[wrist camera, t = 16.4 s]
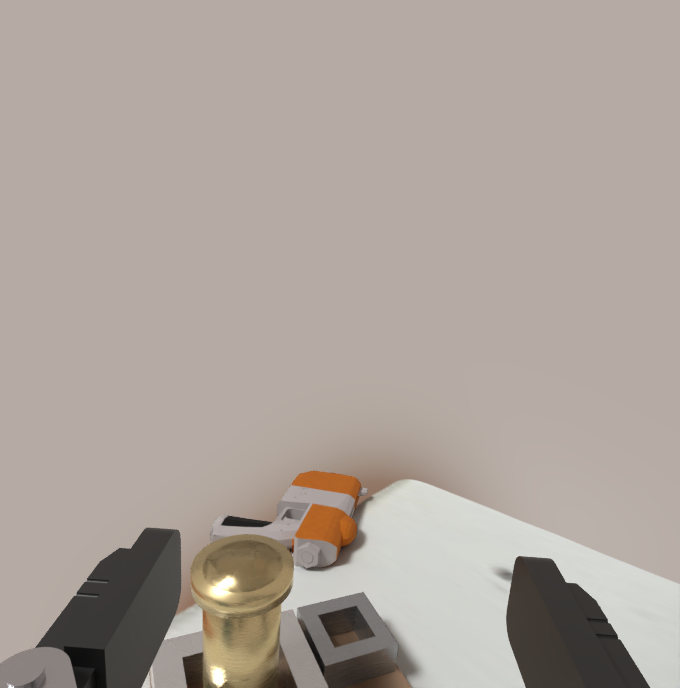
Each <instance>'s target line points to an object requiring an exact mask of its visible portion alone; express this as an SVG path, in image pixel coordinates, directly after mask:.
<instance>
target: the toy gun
mask: <svg viewBox="0 0 680 688" xmlns="http://www.w3.org/2000/svg"><path fill="white" fill-rule="evenodd" d="M367 491H368V489H367V488H361V484H360V482H359V481H358V480H357V479H356V478H355V477H352V476H346V475H341V474H335V473H331V472H330V471H327V472H319V471H310V472H306V473H301V474H299V475H298V476H297V477H296V479H295V480H294V481H293V483H292V485H291V486H290V487H289V489H288V490H287V492H286V493H285V495H284V496H283V498H282V499H281V501H280V502H279V503H278V508H277V518H276V520H275V521H274V522H267V521H260V520H252V519H245V518H239V517H233V516H229V515H223V516H221V517H219V518H217V519H216V521H215V522H214V524H213V526H212V529H211V532H210V540H211V541H212V542H214V541H217V540H219V539H222V538H225V537H228V536H233V535H240V534H255V535H262V536H266V537H269V538H272V539H274V540H276V541H278V542H280V543H281V544H283V545H284V546H285V547H286V548H287V549H290V548H292V553H293V552H294V556H293V561H294V565H295V566H301V567H305V568H306V569H307V568H310V567H319V568H321V567H326V566H328V565H331V564H332V563H333V562H335V561H336V560H337V557H338V554H339V551H340V549H341V546H346V545H349V544H350V543H351V542H352V541H353V540H354V538H355V537H356V534H357V524H356V522H355V521H354V520H353V519H352V516H353V513H354V510H355V507H356V505H357V502H358V499H359V496H363V495H366V494H367Z"/></svg>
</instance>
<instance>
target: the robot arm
mask: <svg viewBox="0 0 680 688" xmlns="http://www.w3.org/2000/svg"><path fill="white" fill-rule="evenodd" d="M180 593H181V539H180V532H179V530H173V529H160V528H146V529H144V531H143V532H142V533H141V535H140V536H139V538H138V539H137V541H136V542H135V544H134V545H133V546H132V548H131V549H125V548H119V549H118V550H116V551H115V552H113V553H112V554H111V555H109V556H108V557H106V558H105V559H103V560H102V561H100V563H99V564H98V565H97V566H96V568H95V569H94V570H93V572H92V573H91V575H90V576H89V577H88V578H87V582H84V584H83V585H82V586H81V588H80V589H79V590H78V592H77V595H76V596H74V597H73V598H72V600H71V601H70V602H69V604H68V605H67V606H66V608H65V609H64V610H63V611H62V613H61V614H60V616H59V617H58V618H57V619H56V621H55V622H54V623H53V625H52V626H51V627H50V629H49V630H48V631H47V633H46V634H45V636H44V637H43V638H42V639H41V641H40V642H39V644H38V645H37V646H36V648H33V649H29V650H26V651H23V652H21V653H18V654H16V655H14V656H12V657H10V658H8V659H6V660H5V661H3V662H2V663H1V664H0V688H141V687H142V685H143V683H144V681H145V679H146V676H147V674H148V672H149V670H150V668H151V666H152V663H153V661H154V659H155V657H156V655H157V653H158V650H159V648H160V646H161V644H162V642H163V640H164V637H165V635H166V633H167V631H168V629H169V627H170V625H171V622H172V620H173V618H174V616H175V613H176V611H177V607H178V603H179V599H180ZM506 622H507V633H508V638H509V641H510V644H511V647H512V650H513V653H514V656H515V658H516V661H517V664H518V667H519V670H520V672H521V675H522V678H523V681H524V683H525V686H526V688H650V687H649V685H648V683H647V682H646V680H645V679H644V677H643V675H642V674H641V672H640V671H639V669H638V667H637V666H636V664H635V663H634V661H633V659H632V658H631V656H630V655H629V653H628V651H627V650H626V648H625V647H624V645H623V643H622V642H621V640H618V635H617V634H616V632H615V631H614V629H613V627H612V626H611V624H610V623H608V619H607V618H606V616H605V614H604V613H603V611H602V610H601V608H600V606H599V605H598V603H597V602H596V600H595V599H593V598H592V597H591V596H590V595H589V594H588V593H587V592H585V591H584V590H583V589H582V588H581V587H580V586H579V585H578V584H575V583H566V582H565V580H564V578H563V576H562V575H561V573H560V571H559V569H558V568H557V566H556V564H555V563H554V561H553V560H552V559H549V558H535V557H522V556H518V557H517V558H516V561H515V564H514V570H513V576H512V582H511V588H510V595H509V601H508V607H507V615H506Z"/></svg>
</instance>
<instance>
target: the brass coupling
mask: <svg viewBox="0 0 680 688" xmlns="http://www.w3.org/2000/svg"><path fill="white" fill-rule="evenodd" d="M293 570H294V561H293V557H292V555H291V553H290V551H289V550H288V549H287V548H286V547H285V546H284V545H283V544H281V543H280V542H278V541H276V540H274V539H272V538H269V537H266V536H262V535H255V534H240V535H233V536H228V537H225V538H222V539H219V540H217V541H214V542H212V543H211V544H209V545H207V546H206V547H204V548H203V549H202V550H201V551H200V552H199V553H198V554H197V556H196V557H195V559H194V560H193V563H192V566H191V593H192V596H193V598H194V600H195V602H196V603H197V604H198V605H199V606H200V607H201V608H202V609H203V688H278V671H279V646H280V621H281V603H282V602H283V601H284V600H285V599H286V598H287V596H288V595H289V593H290V591H291V589H292V585H293Z"/></svg>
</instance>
